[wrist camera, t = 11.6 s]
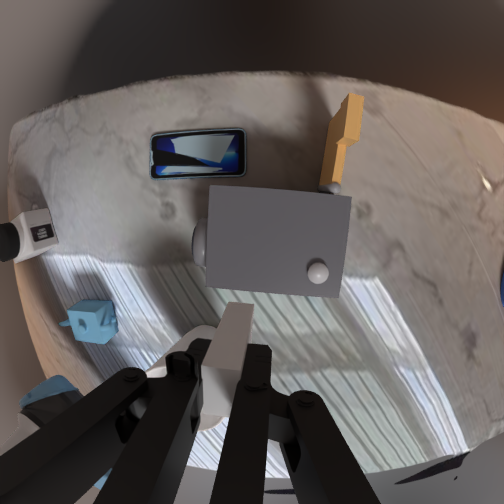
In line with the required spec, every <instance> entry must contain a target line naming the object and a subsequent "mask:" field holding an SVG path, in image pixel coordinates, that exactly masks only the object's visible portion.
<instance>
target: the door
mask: <svg viewBox="0 0 504 504" xmlns="http://www.w3.org/2000/svg"><path fill="white" fill-rule="evenodd" d="M363 102H364V97H363V96H359V95H356V94H352V93H349V94H348V95H347V96H346V98H345V99H344V100H343V102H342V103H341V108H340V109H339V111H338V112H337V113H336V114H335V116H334V117H333V118H332V120H331V121H330V122H329V127H328V133H327V140H326V146H325V152H324V159H323V164H322V170H321V176H320V182H319V186H318V191H319V192H323V193H338V192H339V191H340V190H341V186H340V183H341V177H342V172H343V166H344V159H345V153H346V146H348V147H349V146H351V145H353V144H354V143H356V142H358V141H359V136H360V129H361V120H362V112H363Z"/></svg>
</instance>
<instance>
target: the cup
mask: <svg viewBox="0 0 504 504" xmlns="http://www.w3.org/2000/svg"><path fill="white" fill-rule="evenodd" d="M216 330H217V328H215V327H213V326H209V325H200V326H197V327H195V328H193V330H191V331H190V332H188V333H186V334H185V335H184V336H183V337H182V338H181V339H180V340H179V341H178V342H177V343H176V344H175V345H174V346H173V347H172V348H171V349H169V350H168V351H167V352H166V353H165V354H164V355H163V356H162V357H161V358H160V359H159V360H158V361H157V362H156V363H155V364H154V365H153V366H152V367H150V368H149V369H147V370H146V371H145V373H146V374H147V377H165V376H166V374H167V371H166V361H165V357H166V356H167V355H168V354H169V353H172V352H176V351H186V350H187V349H188V347H189V345H190V343H191V342H192V341H193V340H195V339H196V338H203V339H210V340H212V339H213V337H214V334H215V332H216ZM200 416H201V421H200V425H199V428H198V431H206V430H209V429H212V428H214V427H216V426H217V425H219V424H220V423H221V422H222V421H223V419H224V418H225V417H222V416H215V415H209V414H203V407H202V410H201V413H200ZM198 431H197V432H198Z"/></svg>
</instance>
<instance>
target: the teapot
mask: <svg viewBox="0 0 504 504" xmlns="http://www.w3.org/2000/svg"><path fill="white" fill-rule="evenodd" d="M67 313H68V317H69V319H67V320H66V321H63V322H59V323H58V324H59V325H60V326H69V325H71V327H72V330H73V334H74V337H75V340H78V341H84V342H90V343H97V344H105V343H106V342H108V341H109V340H110V339H111V338H112V337H113V336H114V335H115V334H116V333H117V332H118V331H119V330H118V326H117V322H116V317H115V314H114V310H113V305H112V301H104V300H84V299H83V300H81V301H80V302H78V303H77V304H75V305H73V306H72V307H70V308H69V309H67Z"/></svg>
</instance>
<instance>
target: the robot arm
mask: <svg viewBox="0 0 504 504" xmlns="http://www.w3.org/2000/svg"><path fill="white" fill-rule="evenodd" d="M253 313H254V304H247V303H237V302H228V304H227V307H226V309H225V311H224V314H223V316H222V318H221V320H220V323H219V325H218V327H217V330H216V332H215V334H214V337H213V339H212V340H210V339H203V338H196V339H195V340H193V341H192V342H191V343H190V345H189V347H188V349H187V350H186V351H176V352H172V353H169V354H168V355H167V356H166V357H165V361H166V371H167V374H166V376H165V377H147V374H146V373H145V371H143V370H142V369H139V368H136V367H128V368H124V369H122V370H120V371H118V372H117V373H116V374H114V375H113V376H112V377H110V378H109V379H108V380H106V381H105V382H103V383H102V384H101V385H99V386H98V387H97V388H95V389H94V390H92V391H91V392H90V393H88V394H87V395H86V396H83V395H82V394H81V393H80V392H79V389H78V388H75V387H74V386H73V385H72V384H71V383H70V382H69V381H68V380H67V379H66V378H65V377H64V376H62V375H55V376H53V377H51V378H49V379H47V380H45V381H44V382H42V383H41V384H39V385H38V386H36V387H35V388H34V389H32V390H31V391H30V392H29V393H28V394H26V395H25V396H24V397H23V398H21V400H20V401H19V405H20V407H21V409H23V410H22V411H21V412H20V413H19V414H18V428H17V429H16V430H15V431H14V432H13V433H12V434H11V435H10V437H9V438H8V439H7V440H6V441H5V442H4V443H3V444H2V445H1V446H0V504H74V503H75V502H76V501H77V500H78V499H80V498H81V497H82V496H83V495H84V494H85V493H86V492H87V491H88V490H89V489H90V488H91V487H92V486H95V487H97V488H99V489H100V492H99V494H98V496H97V497H96V499H95V501H94V503H93V504H173V503H174V500H175V497H176V494H177V491H178V488H179V485H180V482H181V479H182V476H183V473H184V470H185V467H186V464H187V461H188V458H189V455H190V452H191V449H192V446H193V443H194V440H195V437H196V434H197V431H198V428H199V425H200V421H201V416H200V413H201V410H202V407H203V414H209V415H215V416H222V417H229V422H228V426H227V430H226V435H225V439H224V444H223V448H222V452H221V456H220V461H219V465H218V469H217V474H216V478H215V482H214V486H213V490H212V495H211V499H210V503H209V504H263V495H264V482H265V471H266V457H267V443H268V439H271V440H274V441H277V442H279V445H280V448H281V451H282V454H283V458H284V461H285V464H286V467H287V470H288V473H289V476H290V479H291V482H292V485H293V488H294V491H295V494H296V497H297V500H298V503H299V504H381V503H380V501H379V500H378V498H377V496H376V494H375V493H374V491H373V489H372V487H371V485H370V484H369V482H368V480H367V479H366V477H365V475H364V473H363V471H362V469H361V468H360V466H359V464H358V462H357V461H356V459H355V457H354V455H353V453H352V452H351V450H350V448H349V446H348V444H347V443H346V441H345V439H344V437H343V436H342V434H341V432H340V430H339V428H338V427H337V425H336V423H335V421H334V419H333V417H332V416H331V414H330V412H329V410H328V408H327V407H326V405H325V403H324V401H323V399H322V398H321V397H320V396H319V395H318V394H316V393H314V392H311V391H307V390H300V391H296V392H294V393H292V394H291V395H290V396H288V395H284V394H281V393H279V392H277V391H276V390H275V389H274V388H273V387H272V386H271V382H270V379H271V359H272V350H271V349H270V347H269V346H268V345H261V344H251V339H252V326H253Z"/></svg>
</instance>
